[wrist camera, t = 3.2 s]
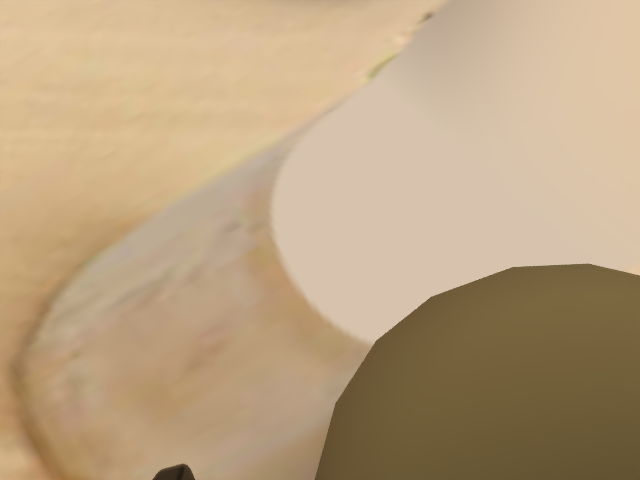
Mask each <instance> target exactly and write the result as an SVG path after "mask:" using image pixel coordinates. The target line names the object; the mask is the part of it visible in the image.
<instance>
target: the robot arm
mask: <svg viewBox="0 0 640 480" xmlns="http://www.w3.org/2000/svg"><path fill="white" fill-rule="evenodd" d="M152 480H195V478H194V476H193V473H192V471H191V469H190V468H189V466H188V465H186V464H180V465H176V466H172V467H168V468H165V469H162V470H160V471H159V472H158V473H157V474H156V475H155V477H154V478H153V479H152Z"/></svg>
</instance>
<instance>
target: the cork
mask: <svg viewBox="0 0 640 480" xmlns="http://www.w3.org/2000/svg"><path fill="white" fill-rule="evenodd" d="M315 480H640V276H639V275H635V274H630V273H626V272H622V271H618V270H613V269H609V268H604V267H600V266H596V265H592V264H573V265H550V266H529V267H512V268H510V269H506V270H504V271H501V272H498V273H495V274H493V275H490V276H487V277H484V278H482V279H479V280H476V281H474V282H471V283H468V284H465V285H463V286H460V287H457V288H454V289H452V290H449V291H446V292H443V293H441V294H438V295H435V296H433V297H431V298H429V299H428V300H427V301H426V302H424V303H423V304H422V305H420V306H419V307H418V308H417V309H415V310H414V311H413V312H412V313H411V314H409V315H408V316H407V317H406V318H404V319H403V320H402V321H401V322H399V323H398V324H397V325H396V326H394V327H393V328H392V329H390V330H389V331H388V332H387V333H385V334H384V335H383V336H382V337H380V338H379V339H378V340H377V341H376V342H375V344H374V345H373V347H372V348H371V350H370V351H369V353H368V354H367V356H366V358H365V359H364V361H363V362H362V364H361V365H360V367H359V368H358V370H357V371H356V373H355V375H354V376H353V378H352V379H351V381H350V382H349V384H348V385H347V387H346V388H345V390H344V392H343V393H342V395H341V396H340V398H339V399H338V401H337V402H336V405H335V408H334V412H333V416H332V419H331V423H330V426H329V430H328V434H327V437H326V441H325V445H324V448H323V452H322V456H321V459H320V463H319V467H318V470H317V474H316V478H315Z"/></svg>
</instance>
